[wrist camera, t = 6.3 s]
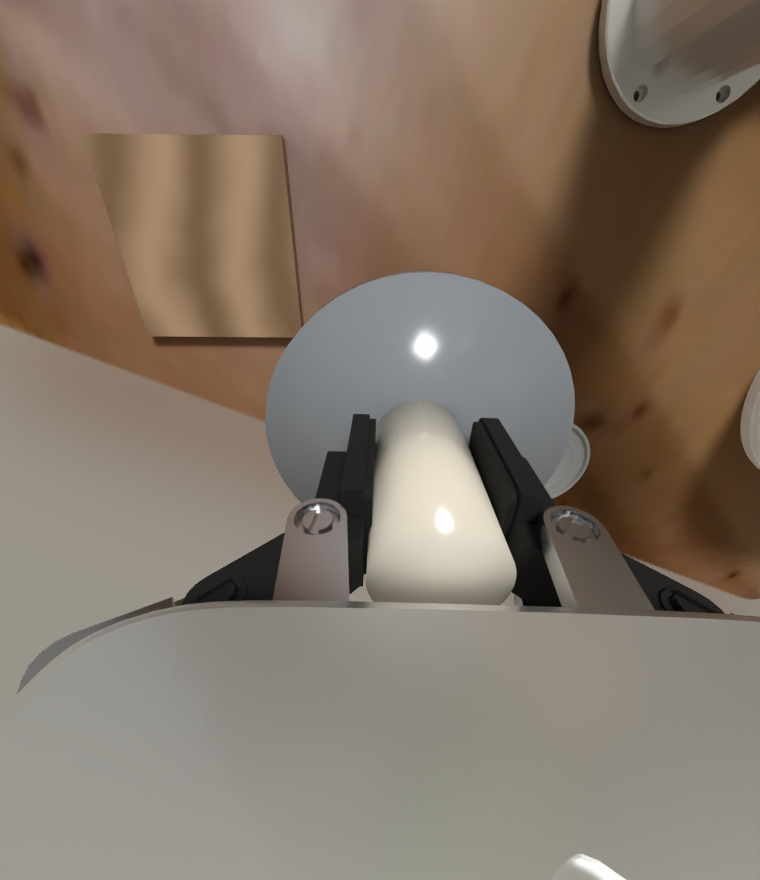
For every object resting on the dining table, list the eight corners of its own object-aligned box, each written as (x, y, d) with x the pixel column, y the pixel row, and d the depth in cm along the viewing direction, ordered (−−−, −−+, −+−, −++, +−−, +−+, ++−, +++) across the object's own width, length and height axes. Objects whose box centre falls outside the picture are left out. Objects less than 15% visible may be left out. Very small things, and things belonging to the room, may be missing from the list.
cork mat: (284, 139, 25) (281, 135, 24) (304, 335, 32) (302, 337, 31) (92, 137, 25) (81, 133, 24) (154, 333, 32) (148, 336, 31)
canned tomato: (535, 429, 37) (589, 494, 27) (462, 445, 38) (489, 513, 29) (532, 359, 33) (593, 406, 24) (451, 379, 34) (478, 432, 25)
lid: (602, 274, 11) (896, 324, 5) (522, 529, 16) (605, 708, 10) (252, 266, 11) (73, 304, 5) (291, 524, 16) (234, 699, 10)
